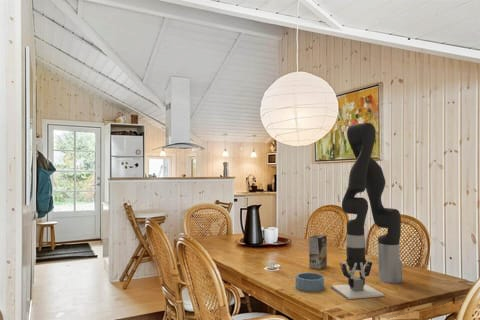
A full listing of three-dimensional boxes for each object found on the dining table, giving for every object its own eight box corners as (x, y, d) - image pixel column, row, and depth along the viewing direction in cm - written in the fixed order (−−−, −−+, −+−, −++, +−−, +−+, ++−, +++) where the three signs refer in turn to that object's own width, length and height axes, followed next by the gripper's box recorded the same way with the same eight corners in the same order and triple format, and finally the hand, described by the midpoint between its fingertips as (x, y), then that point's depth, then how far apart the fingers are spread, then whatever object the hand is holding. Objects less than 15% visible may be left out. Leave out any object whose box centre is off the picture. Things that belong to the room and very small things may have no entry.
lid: (363, 285, 164) (363, 272, 164) (383, 296, 149) (383, 282, 149) (331, 287, 161) (331, 275, 161) (348, 299, 146) (348, 285, 146)
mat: (364, 286, 165) (364, 284, 165) (385, 298, 149) (385, 296, 149) (330, 288, 161) (330, 287, 161) (348, 301, 146) (348, 299, 146)
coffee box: (320, 269, 193) (319, 238, 193) (309, 267, 197) (308, 237, 197) (327, 265, 200) (326, 235, 201) (316, 264, 204) (315, 234, 205)
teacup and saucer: (279, 267, 200) (279, 259, 200) (282, 271, 192) (281, 263, 192) (263, 267, 199) (263, 260, 199) (264, 271, 191) (264, 263, 191)
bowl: (317, 283, 170) (317, 271, 170) (328, 291, 158) (328, 279, 158) (292, 284, 167) (292, 273, 168) (301, 293, 156) (301, 281, 156)
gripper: (366, 242, 161) (367, 283, 160) (335, 244, 158) (336, 285, 157) (376, 246, 153) (377, 288, 153) (344, 248, 151) (345, 291, 150)
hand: (356, 286), depth 155 cm, fingers closed on lid, 4 cm apart
